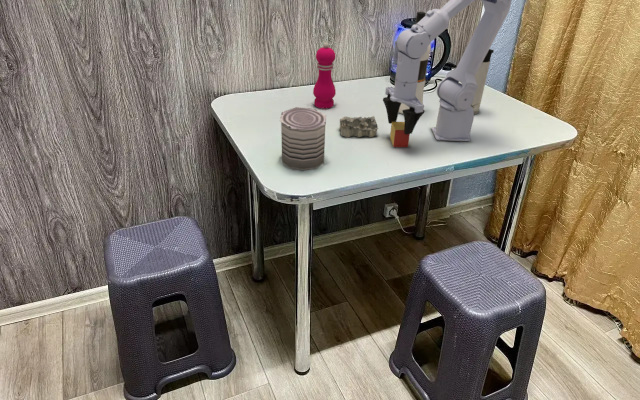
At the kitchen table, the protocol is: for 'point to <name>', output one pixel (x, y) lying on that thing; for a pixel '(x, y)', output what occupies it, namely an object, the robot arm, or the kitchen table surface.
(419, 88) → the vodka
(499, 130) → the kitchen table surface
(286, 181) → the kitchen table surface
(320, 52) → the pepper mill
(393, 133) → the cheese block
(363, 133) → the egg carton
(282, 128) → the can
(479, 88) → the travel mug
